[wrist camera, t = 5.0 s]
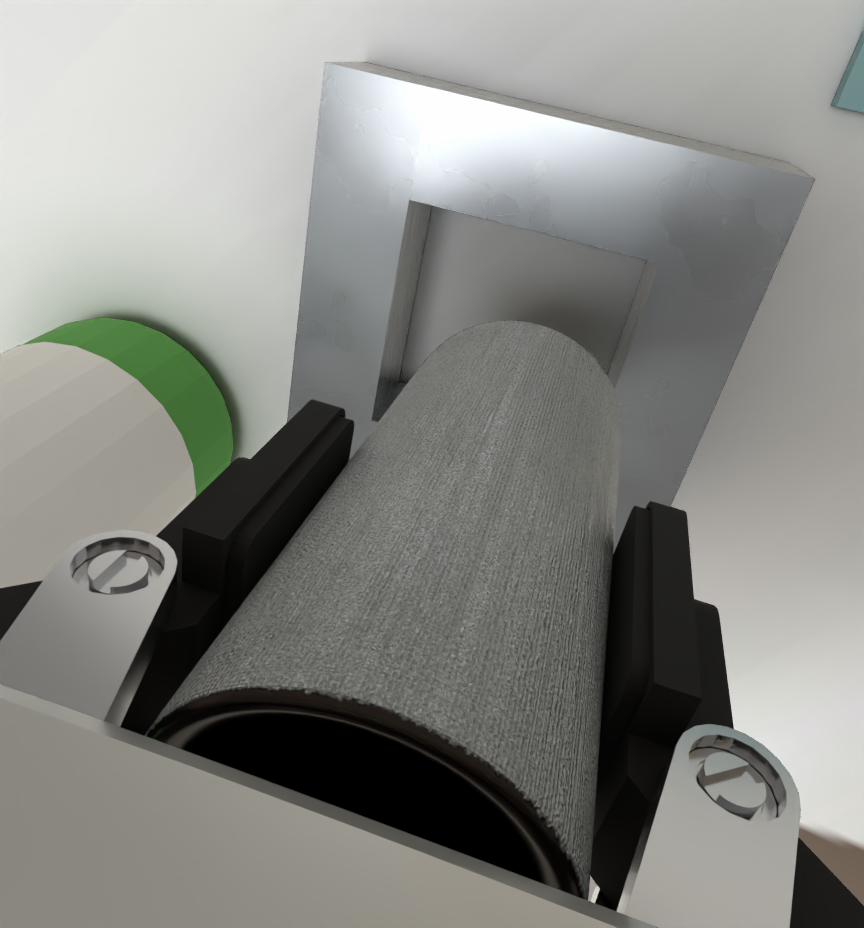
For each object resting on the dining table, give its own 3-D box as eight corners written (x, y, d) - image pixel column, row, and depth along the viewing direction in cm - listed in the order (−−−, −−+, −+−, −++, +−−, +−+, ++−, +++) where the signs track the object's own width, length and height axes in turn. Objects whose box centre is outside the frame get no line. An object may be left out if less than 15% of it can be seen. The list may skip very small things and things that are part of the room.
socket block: (788, 162, 18) (815, 179, 16) (638, 520, 24) (640, 575, 22) (364, 62, 19) (324, 61, 17) (317, 427, 25) (282, 468, 23)
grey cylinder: (457, 279, 15) (169, 606, 6) (664, 379, 14) (692, 867, 6) (382, 456, 17) (96, 878, 8) (560, 543, 17) (463, 1065, 8)
